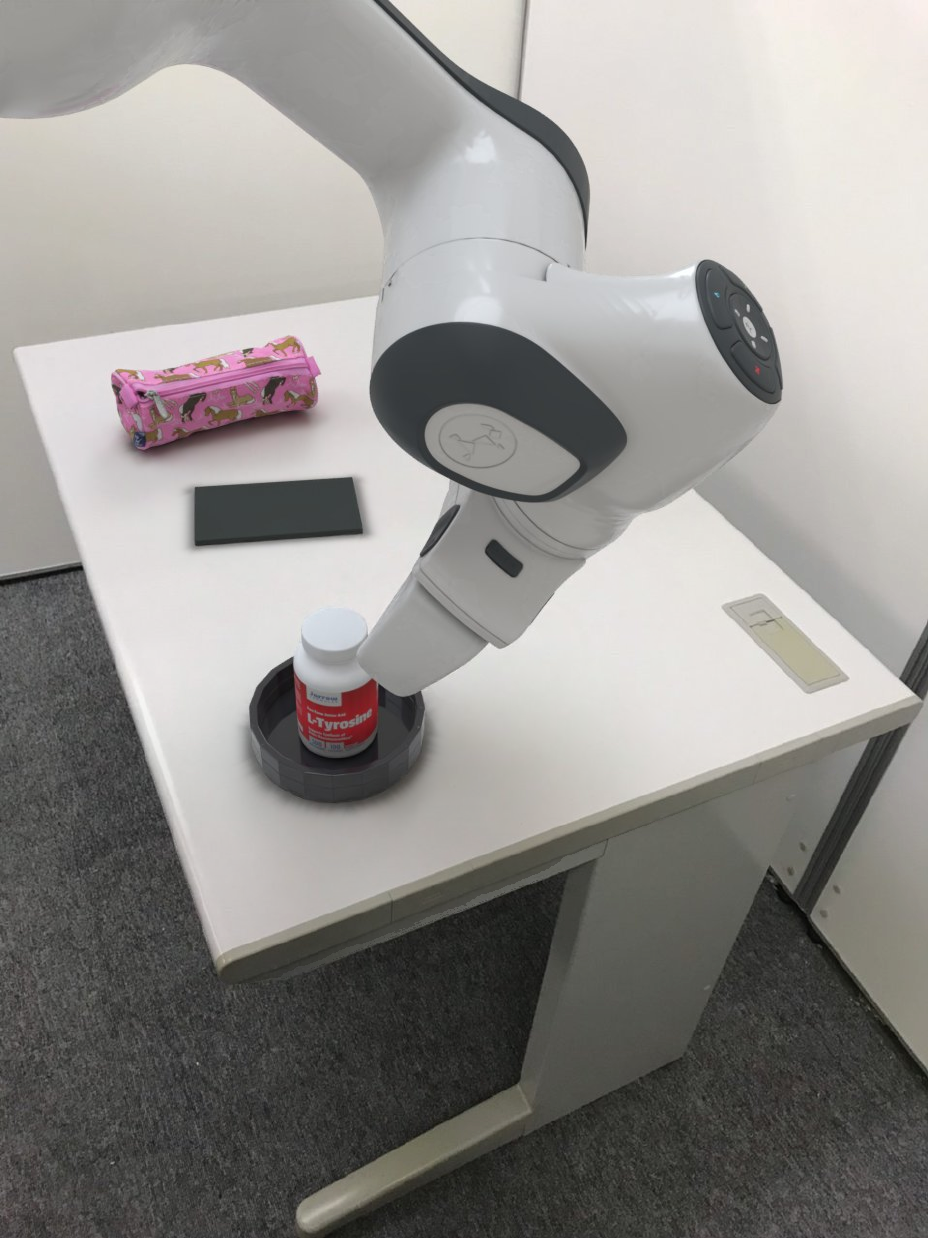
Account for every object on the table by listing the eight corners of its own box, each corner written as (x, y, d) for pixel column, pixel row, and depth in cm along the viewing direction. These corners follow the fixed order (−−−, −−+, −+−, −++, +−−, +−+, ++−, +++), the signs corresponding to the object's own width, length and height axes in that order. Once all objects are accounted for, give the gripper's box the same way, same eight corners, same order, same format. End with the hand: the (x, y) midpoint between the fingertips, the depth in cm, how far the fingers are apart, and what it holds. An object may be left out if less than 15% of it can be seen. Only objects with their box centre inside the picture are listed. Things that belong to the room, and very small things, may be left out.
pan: (256, 813, 70) (252, 785, 68) (249, 682, 79) (246, 655, 77) (436, 790, 72) (438, 763, 70) (408, 666, 82) (409, 639, 80)
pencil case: (140, 469, 101) (125, 393, 95) (114, 427, 107) (99, 352, 101) (328, 424, 110) (325, 351, 104) (295, 387, 115) (291, 316, 109)
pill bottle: (300, 765, 73) (291, 661, 65) (296, 705, 77) (287, 601, 70) (382, 757, 74) (383, 653, 67) (374, 698, 78) (373, 595, 71)
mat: (195, 545, 92) (194, 540, 92) (195, 491, 99) (194, 486, 98) (362, 533, 95) (362, 528, 95) (352, 481, 102) (352, 476, 101)
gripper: (552, 367, 59) (435, 478, 70) (410, 581, 46) (291, 679, 57) (625, 437, 61) (499, 536, 71) (506, 664, 48) (373, 745, 58)
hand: (405, 601), depth 64 cm, fingers open, 8 cm apart
